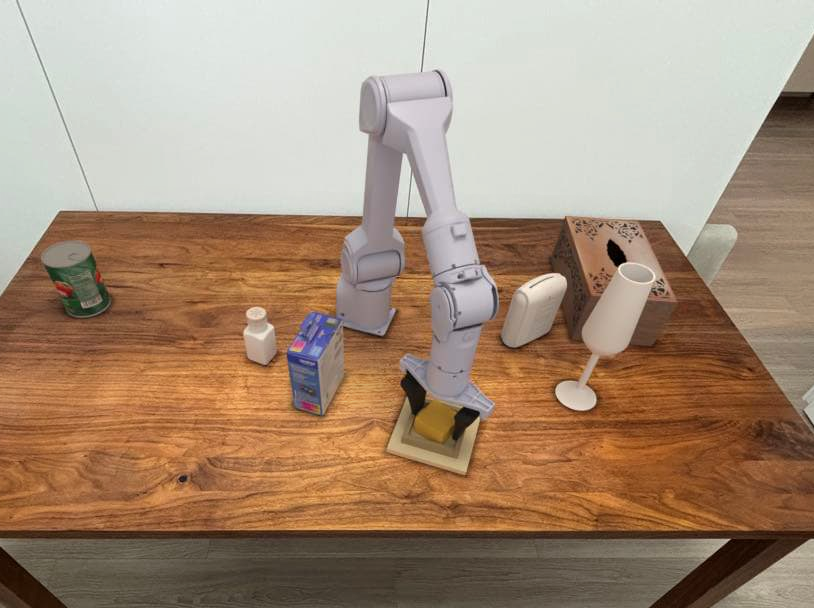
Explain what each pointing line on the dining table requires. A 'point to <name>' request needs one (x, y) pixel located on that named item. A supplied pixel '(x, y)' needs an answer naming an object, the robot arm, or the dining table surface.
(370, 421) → the dining table surface
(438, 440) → the mustard block
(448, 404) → the base pad
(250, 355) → the pepper shaker
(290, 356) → the ink cartridge box
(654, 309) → the tissue box cover
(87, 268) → the canned tomato
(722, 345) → the dining table surface
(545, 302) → the photo printer
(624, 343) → the champagne flute
